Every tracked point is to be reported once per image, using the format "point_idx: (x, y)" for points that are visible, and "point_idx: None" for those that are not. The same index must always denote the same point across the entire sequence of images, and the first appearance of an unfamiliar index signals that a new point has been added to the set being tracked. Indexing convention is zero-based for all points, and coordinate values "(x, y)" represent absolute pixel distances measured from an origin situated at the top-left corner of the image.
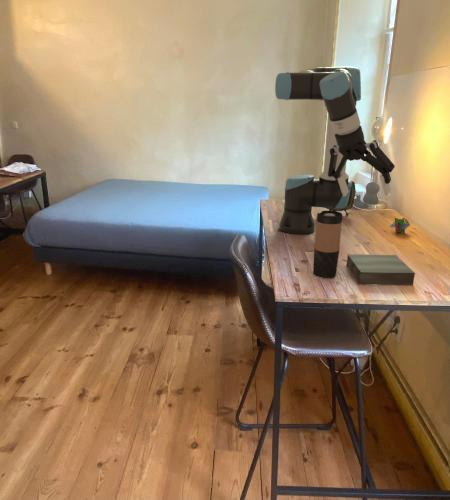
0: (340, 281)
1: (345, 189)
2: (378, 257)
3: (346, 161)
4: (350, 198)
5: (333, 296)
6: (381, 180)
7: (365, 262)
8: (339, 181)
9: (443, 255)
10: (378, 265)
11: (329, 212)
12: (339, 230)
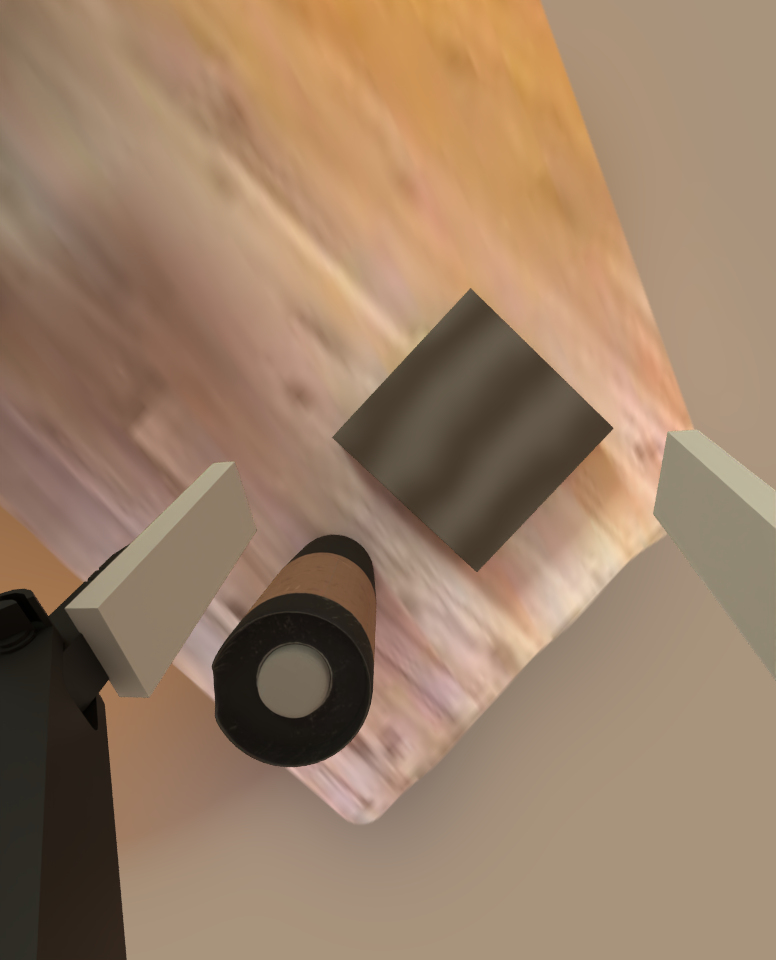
0: (409, 586)
1: (225, 529)
2: (437, 374)
3: (49, 929)
4: None
5: (462, 701)
6: (754, 640)
7: (433, 468)
8: (163, 660)
9: (538, 18)
10: (484, 459)
11: (248, 625)
12: (374, 640)
